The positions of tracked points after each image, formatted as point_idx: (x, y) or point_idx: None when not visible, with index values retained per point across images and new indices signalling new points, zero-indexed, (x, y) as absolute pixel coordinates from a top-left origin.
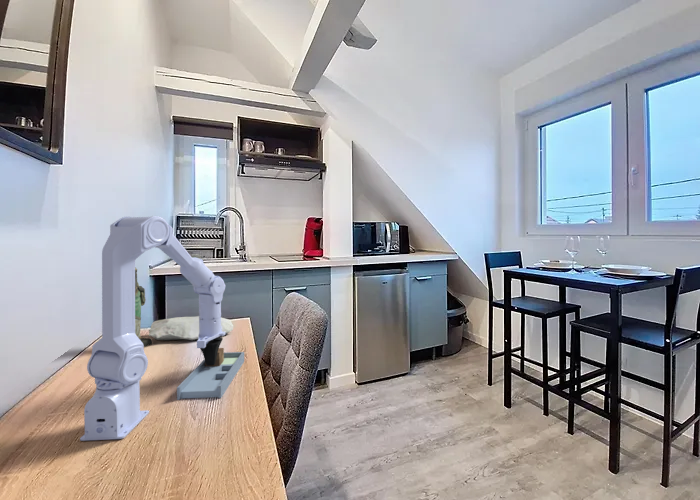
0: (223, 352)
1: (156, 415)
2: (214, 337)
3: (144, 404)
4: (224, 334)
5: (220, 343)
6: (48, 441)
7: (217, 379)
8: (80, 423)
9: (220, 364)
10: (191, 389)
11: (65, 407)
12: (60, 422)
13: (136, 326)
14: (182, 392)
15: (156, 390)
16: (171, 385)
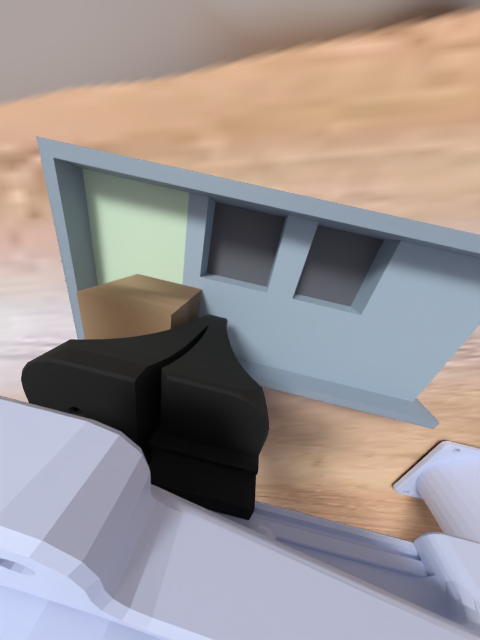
0: (106, 285)
1: (471, 424)
2: (317, 602)
3: (375, 447)
4: (46, 432)
5: (115, 339)
6: (436, 529)
7: (299, 285)
8: (394, 510)
9: (186, 286)
10: (414, 374)
11: None
12: (368, 524)
13: None
14: (416, 396)
15: (299, 433)
16: (280, 409)
